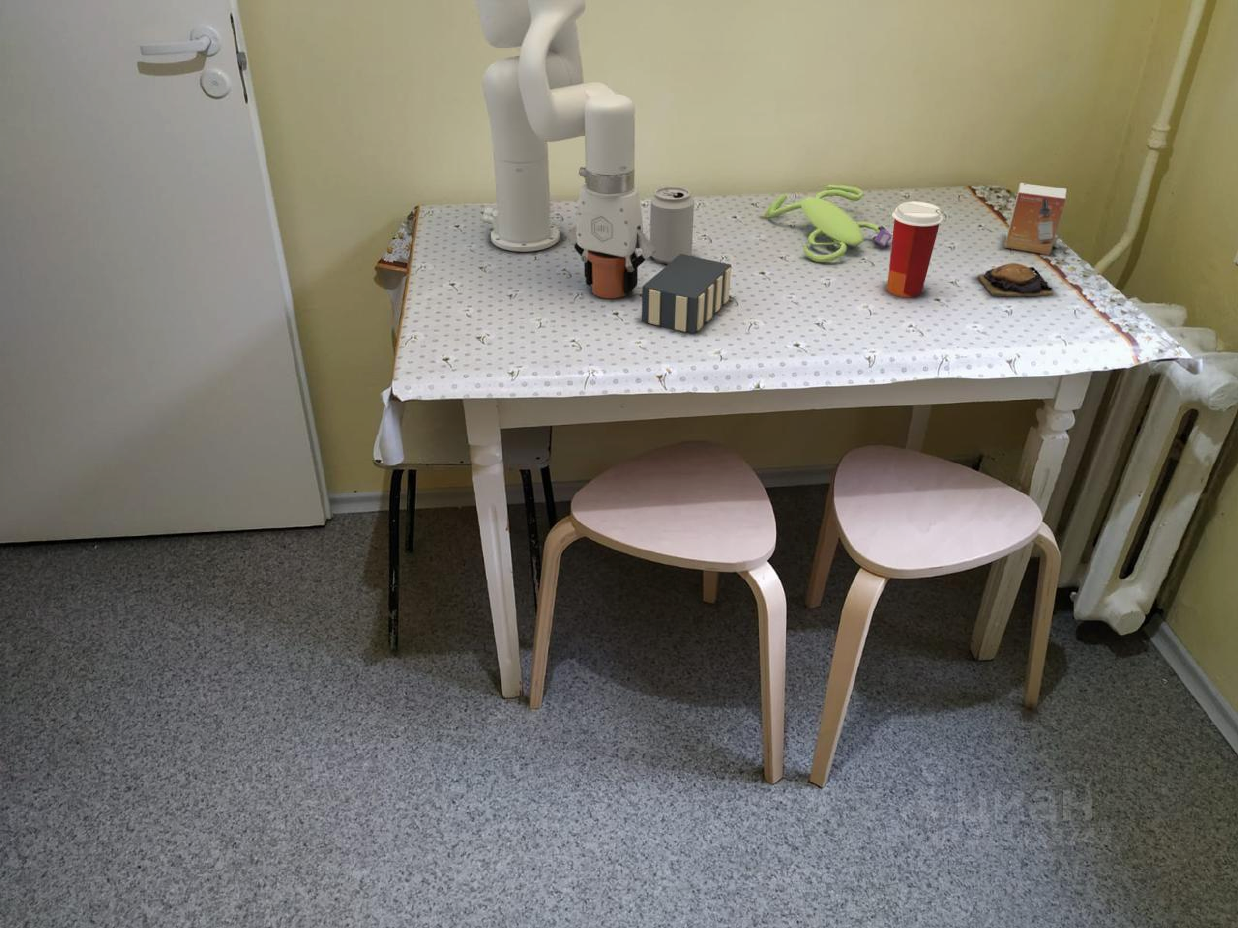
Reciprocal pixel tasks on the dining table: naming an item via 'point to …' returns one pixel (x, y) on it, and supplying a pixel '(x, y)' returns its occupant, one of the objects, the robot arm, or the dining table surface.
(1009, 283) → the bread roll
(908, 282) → the paper cup
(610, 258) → the terracotta pot
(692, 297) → the dark grey striped block
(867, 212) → the dining table surface
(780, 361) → the dining table surface
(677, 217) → the can
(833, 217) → the figurine
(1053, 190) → the small box
